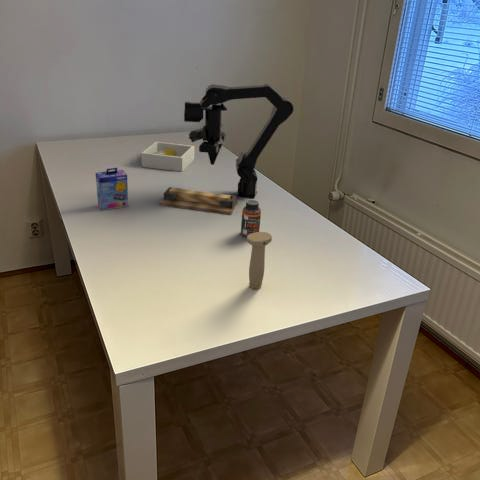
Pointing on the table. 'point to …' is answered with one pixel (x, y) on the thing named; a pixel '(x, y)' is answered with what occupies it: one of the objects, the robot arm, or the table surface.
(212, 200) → the slat
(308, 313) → the table surface
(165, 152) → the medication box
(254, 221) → the supplement bottle
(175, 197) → the endcap frame
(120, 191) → the ink cartridge box
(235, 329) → the table surface
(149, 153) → the tray
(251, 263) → the handle
